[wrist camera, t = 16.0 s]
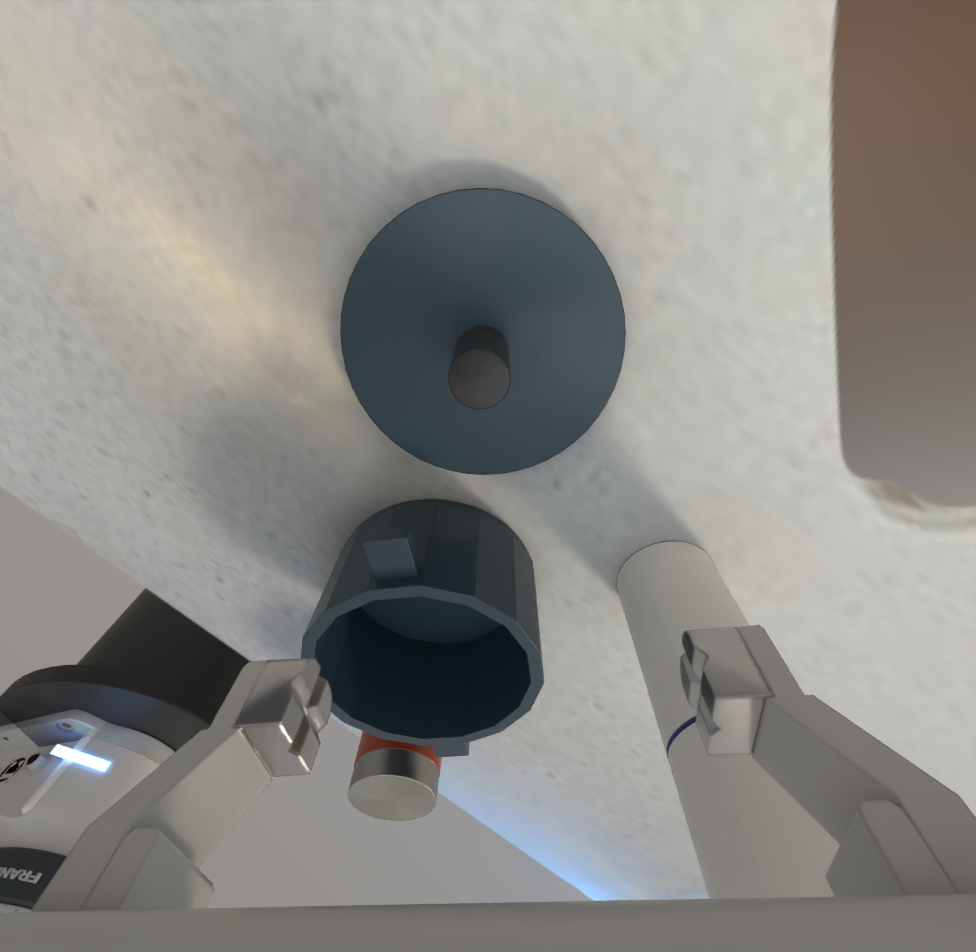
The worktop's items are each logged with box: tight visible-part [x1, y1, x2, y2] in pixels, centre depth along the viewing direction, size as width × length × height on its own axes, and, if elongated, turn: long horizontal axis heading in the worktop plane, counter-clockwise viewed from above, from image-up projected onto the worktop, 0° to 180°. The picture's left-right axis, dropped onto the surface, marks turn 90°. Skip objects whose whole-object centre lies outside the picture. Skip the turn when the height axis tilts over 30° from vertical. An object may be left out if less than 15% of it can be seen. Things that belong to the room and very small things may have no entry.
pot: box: [301, 500, 544, 757], centre depth 33 cm, size 15×20×8 cm
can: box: [348, 731, 442, 821], centre depth 39 cm, size 7×7×9 cm
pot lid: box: [340, 188, 626, 475], centre depth 25 cm, size 16×16×6 cm
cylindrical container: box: [617, 541, 840, 899], centre depth 25 cm, size 7×7×25 cm
